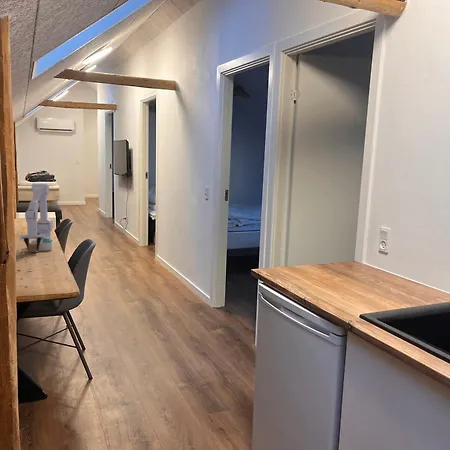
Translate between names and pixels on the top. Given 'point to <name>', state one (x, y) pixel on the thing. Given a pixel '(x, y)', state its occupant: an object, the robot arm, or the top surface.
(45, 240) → the teal cylinder
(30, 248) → the walnut cube
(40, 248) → the tote
